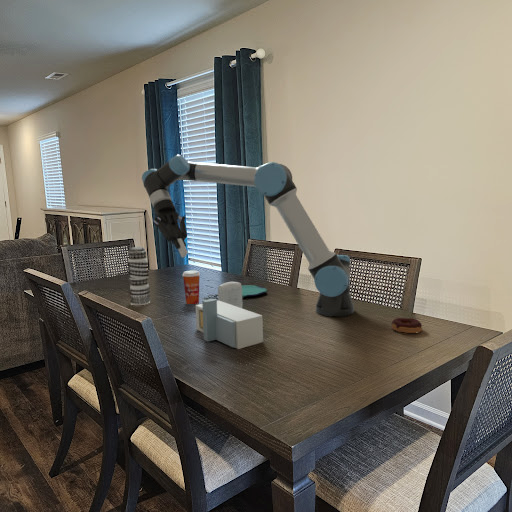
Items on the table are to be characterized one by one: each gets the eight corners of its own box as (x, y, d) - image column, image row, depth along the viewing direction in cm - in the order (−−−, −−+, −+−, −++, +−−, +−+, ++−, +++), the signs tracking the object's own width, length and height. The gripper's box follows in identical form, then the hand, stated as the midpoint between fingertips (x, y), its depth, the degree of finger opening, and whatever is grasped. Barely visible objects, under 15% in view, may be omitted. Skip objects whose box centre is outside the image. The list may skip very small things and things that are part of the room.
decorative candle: (125, 305, 199) (121, 249, 195) (137, 300, 208) (133, 246, 204) (143, 306, 196) (140, 249, 192) (154, 301, 205) (151, 246, 201)
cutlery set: (274, 294, 214) (274, 289, 213) (219, 306, 197) (218, 301, 197) (251, 287, 230) (250, 283, 230) (197, 298, 213) (197, 293, 213)
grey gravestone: (238, 308, 191) (237, 279, 189) (244, 310, 187) (243, 281, 185) (217, 312, 185) (216, 282, 183) (222, 315, 182) (221, 284, 180)
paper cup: (184, 306, 196) (183, 274, 194) (182, 301, 204) (181, 270, 201) (202, 304, 198) (201, 272, 196) (200, 300, 206) (198, 269, 203)
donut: (424, 329, 160) (425, 318, 159) (418, 337, 152) (419, 325, 151) (395, 324, 165) (395, 314, 165) (388, 332, 157) (388, 321, 156)
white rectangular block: (262, 341, 150) (262, 315, 148) (238, 349, 144) (237, 321, 142) (219, 323, 170) (219, 300, 169) (196, 329, 164) (195, 305, 163)
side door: (235, 346, 144) (234, 305, 142) (224, 349, 142) (223, 308, 140) (214, 336, 154) (213, 298, 152) (203, 339, 152) (202, 300, 149)
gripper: (174, 209, 181) (196, 258, 172) (144, 211, 173) (165, 262, 164) (181, 197, 176) (204, 247, 167) (150, 198, 168) (172, 251, 159)
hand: (184, 255), depth 165 cm, fingers closed
